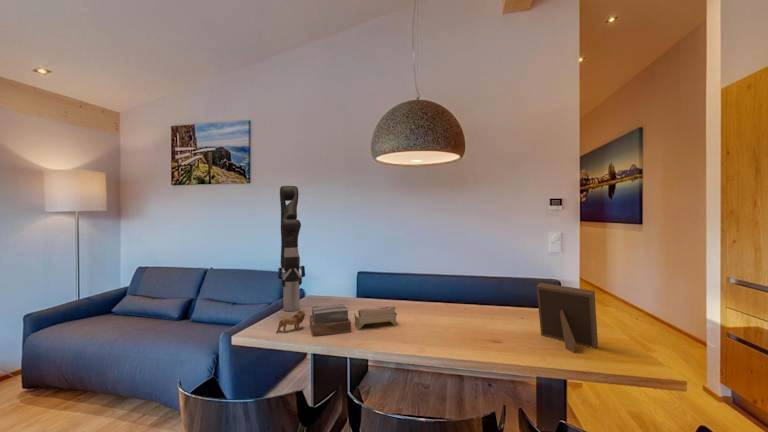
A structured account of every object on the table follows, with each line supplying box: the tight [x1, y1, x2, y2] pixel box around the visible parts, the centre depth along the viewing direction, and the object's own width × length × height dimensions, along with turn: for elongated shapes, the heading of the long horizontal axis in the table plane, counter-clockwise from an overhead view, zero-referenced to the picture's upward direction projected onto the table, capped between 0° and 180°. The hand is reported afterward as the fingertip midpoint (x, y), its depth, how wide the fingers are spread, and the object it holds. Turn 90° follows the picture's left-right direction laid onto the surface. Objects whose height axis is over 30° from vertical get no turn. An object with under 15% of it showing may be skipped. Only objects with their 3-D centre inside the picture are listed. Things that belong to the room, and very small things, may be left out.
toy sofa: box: [353, 305, 398, 331], centre depth 166 cm, size 21×9×10 cm, turn 109°
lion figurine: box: [275, 309, 306, 334], centre depth 158 cm, size 15×5×9 cm, turn 130°
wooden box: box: [309, 303, 352, 337], centre depth 161 cm, size 16×18×10 cm
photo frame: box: [536, 282, 599, 353], centre depth 141 cm, size 15×22×25 cm
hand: (291, 285), depth 176 cm, fingers open, 8 cm apart
